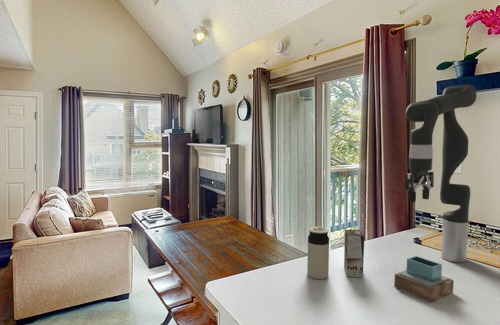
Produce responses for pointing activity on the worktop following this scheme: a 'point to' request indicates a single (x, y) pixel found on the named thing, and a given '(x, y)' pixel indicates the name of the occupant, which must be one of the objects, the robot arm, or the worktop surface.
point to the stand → (424, 286)
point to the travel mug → (318, 253)
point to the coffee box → (354, 253)
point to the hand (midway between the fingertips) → (419, 200)
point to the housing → (424, 268)
